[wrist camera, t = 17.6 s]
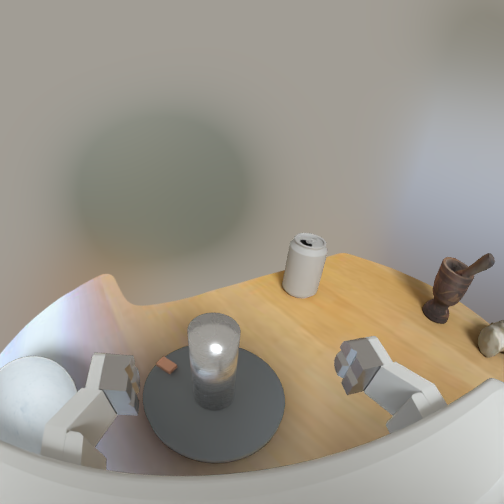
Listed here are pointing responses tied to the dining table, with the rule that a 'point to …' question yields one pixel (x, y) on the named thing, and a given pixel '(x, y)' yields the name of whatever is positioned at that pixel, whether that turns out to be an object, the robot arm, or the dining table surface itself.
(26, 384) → the chinaware
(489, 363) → the dining table surface
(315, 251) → the can
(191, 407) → the disc
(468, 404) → the robot arm
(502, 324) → the ceramic sculpture
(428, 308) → the mortar and pestle
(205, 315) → the clear drinking glass
